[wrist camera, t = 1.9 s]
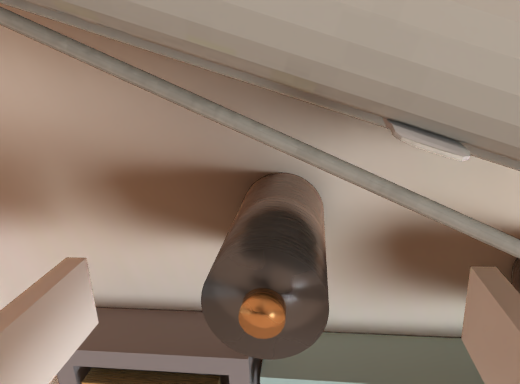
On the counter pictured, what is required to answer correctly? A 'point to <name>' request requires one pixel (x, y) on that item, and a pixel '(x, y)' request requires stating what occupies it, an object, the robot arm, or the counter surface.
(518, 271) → the cell
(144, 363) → the grey square tray
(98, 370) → the orange square tile
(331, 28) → the geiger counter
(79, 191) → the counter surface
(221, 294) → the cell
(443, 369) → the trough
